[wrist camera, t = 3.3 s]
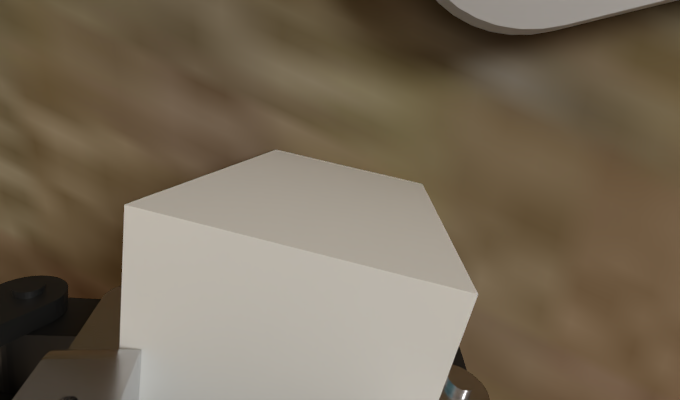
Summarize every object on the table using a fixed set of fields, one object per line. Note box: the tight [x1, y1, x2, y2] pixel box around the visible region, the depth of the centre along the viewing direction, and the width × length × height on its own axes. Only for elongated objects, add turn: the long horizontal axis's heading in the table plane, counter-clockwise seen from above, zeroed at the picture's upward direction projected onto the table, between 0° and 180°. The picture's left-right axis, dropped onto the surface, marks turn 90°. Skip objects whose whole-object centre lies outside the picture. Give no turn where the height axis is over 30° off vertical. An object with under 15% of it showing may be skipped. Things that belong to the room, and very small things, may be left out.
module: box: [119, 150, 478, 400], centre depth 9 cm, size 5×8×7 cm, turn 168°
